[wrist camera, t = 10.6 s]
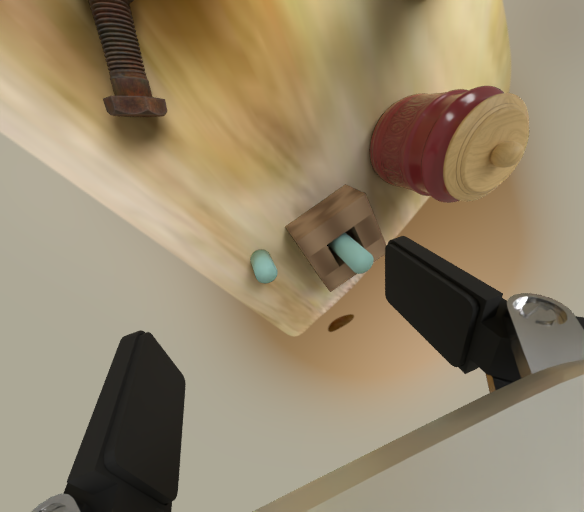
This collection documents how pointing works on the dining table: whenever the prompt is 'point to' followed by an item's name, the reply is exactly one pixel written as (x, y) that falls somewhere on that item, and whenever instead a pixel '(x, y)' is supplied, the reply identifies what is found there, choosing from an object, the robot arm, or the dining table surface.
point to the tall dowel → (352, 253)
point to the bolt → (124, 62)
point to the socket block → (337, 233)
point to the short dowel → (263, 266)
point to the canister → (451, 142)
